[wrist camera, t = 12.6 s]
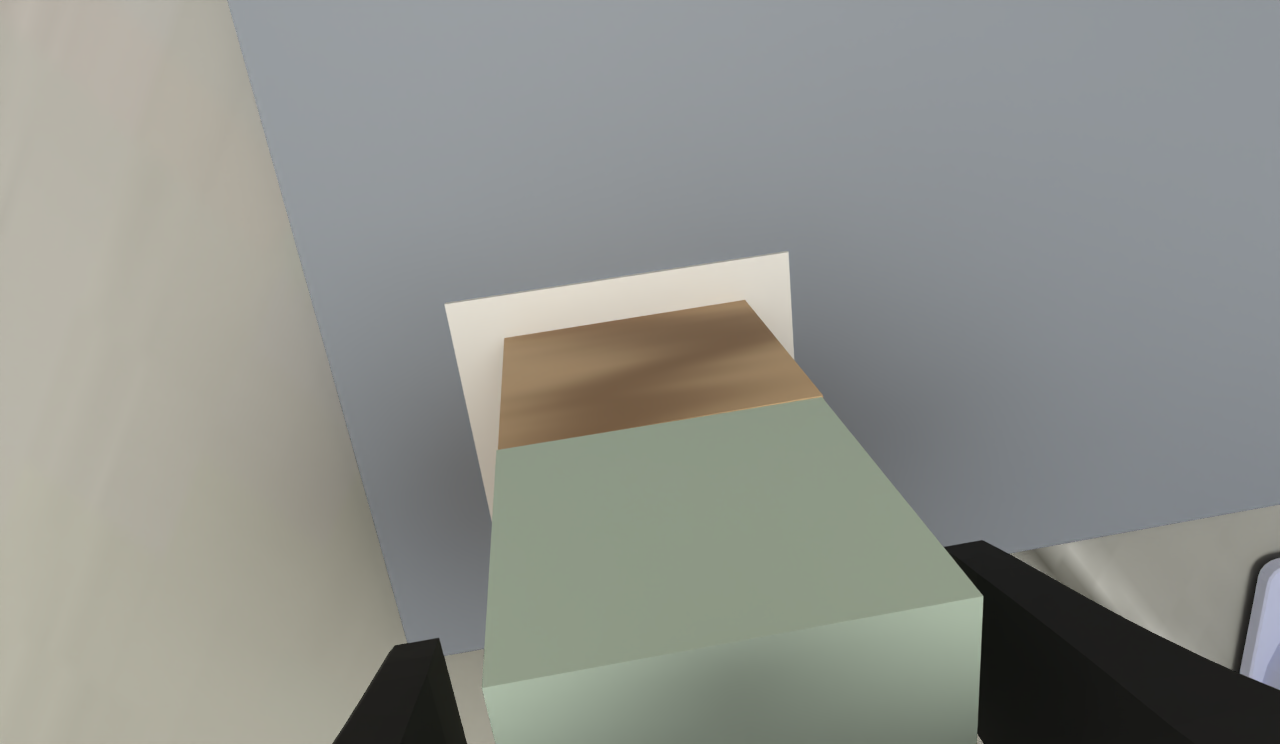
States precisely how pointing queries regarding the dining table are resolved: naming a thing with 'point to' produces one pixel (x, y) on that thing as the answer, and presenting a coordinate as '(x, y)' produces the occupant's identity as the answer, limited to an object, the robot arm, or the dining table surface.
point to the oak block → (643, 373)
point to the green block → (722, 591)
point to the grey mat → (798, 238)
